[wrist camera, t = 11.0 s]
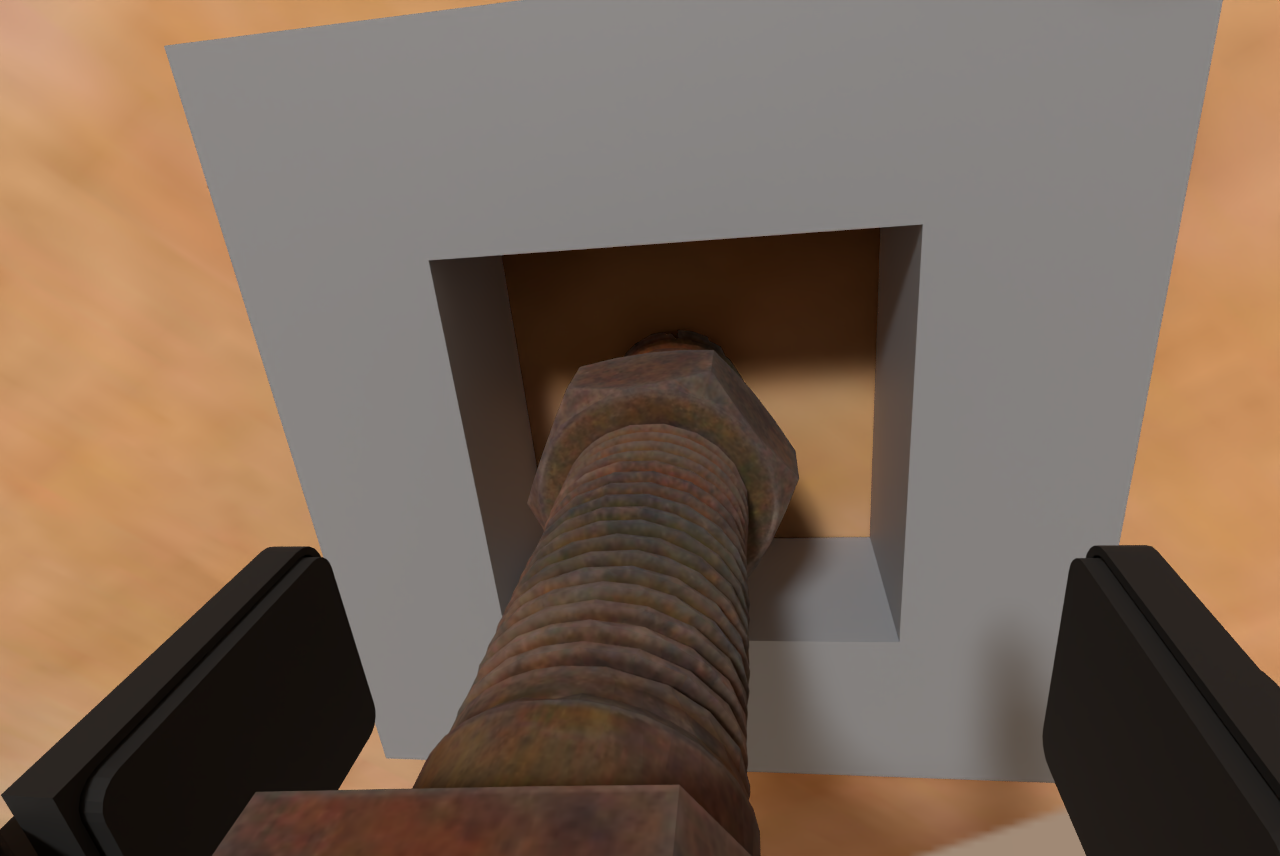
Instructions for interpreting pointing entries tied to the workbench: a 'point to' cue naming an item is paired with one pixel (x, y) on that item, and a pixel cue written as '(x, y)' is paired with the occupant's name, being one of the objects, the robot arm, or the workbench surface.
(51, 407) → the workbench surface
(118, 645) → the workbench surface
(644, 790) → the bolt
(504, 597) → the frame
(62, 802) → the robot arm
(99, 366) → the workbench surface
